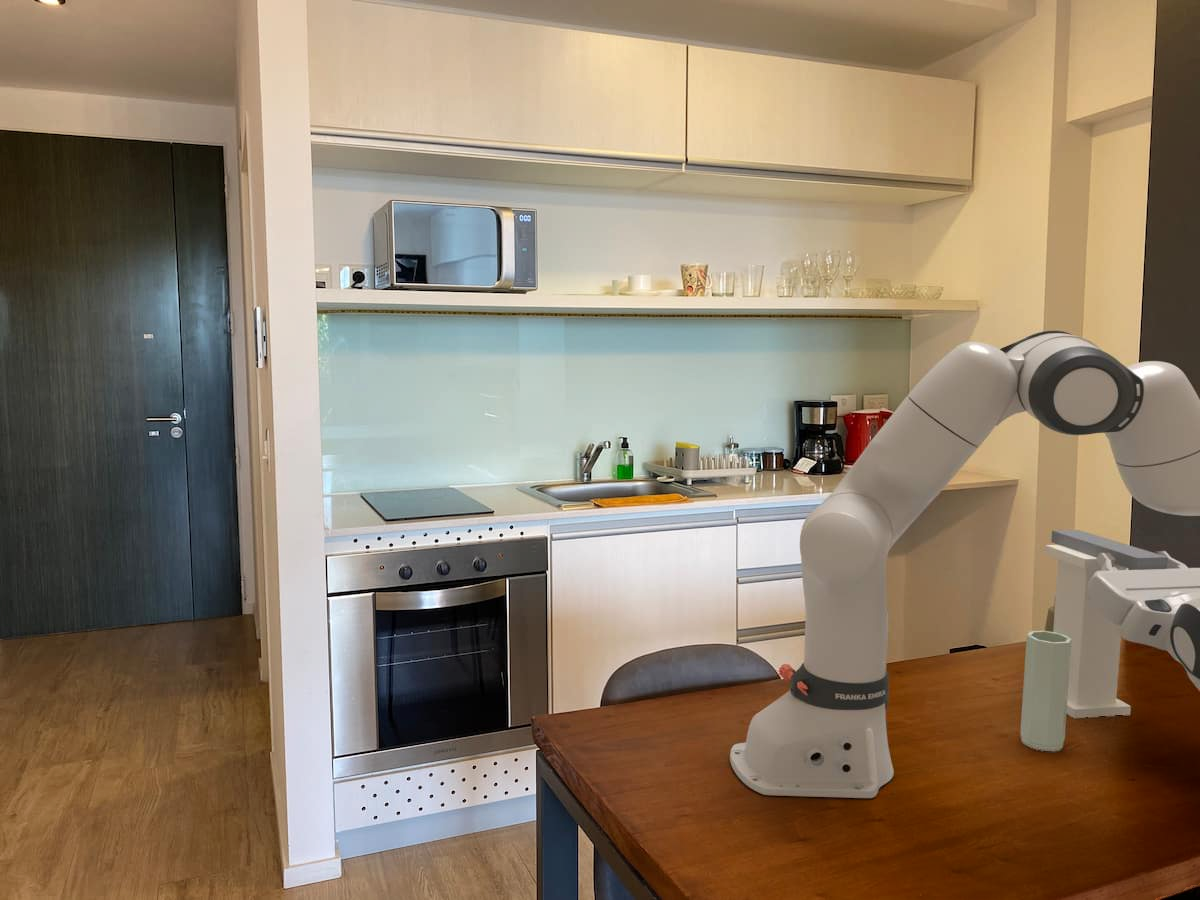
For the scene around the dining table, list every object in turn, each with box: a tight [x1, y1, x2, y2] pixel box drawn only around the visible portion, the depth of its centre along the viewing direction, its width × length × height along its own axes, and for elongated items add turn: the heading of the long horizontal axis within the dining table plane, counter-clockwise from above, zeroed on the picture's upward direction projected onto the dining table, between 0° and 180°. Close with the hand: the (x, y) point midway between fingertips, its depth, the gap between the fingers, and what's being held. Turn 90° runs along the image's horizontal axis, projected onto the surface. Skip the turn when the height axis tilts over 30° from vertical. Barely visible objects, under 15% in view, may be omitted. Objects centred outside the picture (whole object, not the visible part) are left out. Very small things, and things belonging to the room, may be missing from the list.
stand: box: [1044, 544, 1132, 719], centre depth 150 cm, size 10×10×26 cm
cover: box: [1050, 529, 1168, 570], centre depth 146 cm, size 5×20×2 cm, turn 9°
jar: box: [1019, 630, 1072, 753], centre depth 136 cm, size 6×6×16 cm
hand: (1130, 555), depth 140 cm, fingers open, 8 cm apart
